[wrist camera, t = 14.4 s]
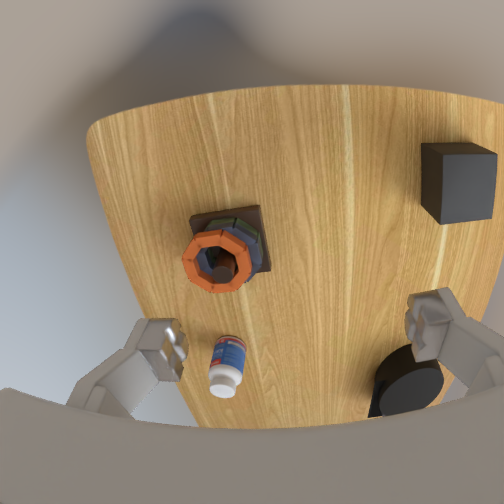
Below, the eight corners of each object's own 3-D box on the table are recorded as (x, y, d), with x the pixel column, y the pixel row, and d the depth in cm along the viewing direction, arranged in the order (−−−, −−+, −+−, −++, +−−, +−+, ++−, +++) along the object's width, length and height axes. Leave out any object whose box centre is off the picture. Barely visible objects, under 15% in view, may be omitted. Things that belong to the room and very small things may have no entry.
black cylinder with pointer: (442, 333, 48) (455, 360, 42) (424, 390, 56) (431, 416, 49) (373, 344, 51) (379, 374, 44) (364, 400, 59) (368, 427, 52)
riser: (420, 143, 32) (442, 154, 26) (472, 142, 30) (497, 154, 25) (421, 205, 36) (439, 225, 31) (469, 200, 34) (491, 218, 29)
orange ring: (178, 235, 36) (174, 241, 35) (243, 225, 35) (241, 231, 34) (196, 288, 40) (194, 295, 39) (256, 282, 39) (255, 289, 38)
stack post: (191, 215, 40) (173, 245, 33) (259, 204, 38) (254, 234, 31) (209, 272, 44) (196, 308, 37) (271, 265, 42) (268, 302, 36)
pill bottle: (221, 330, 50) (211, 377, 41) (251, 341, 51) (245, 388, 42) (211, 349, 52) (200, 393, 44) (239, 359, 53) (232, 403, 45)
